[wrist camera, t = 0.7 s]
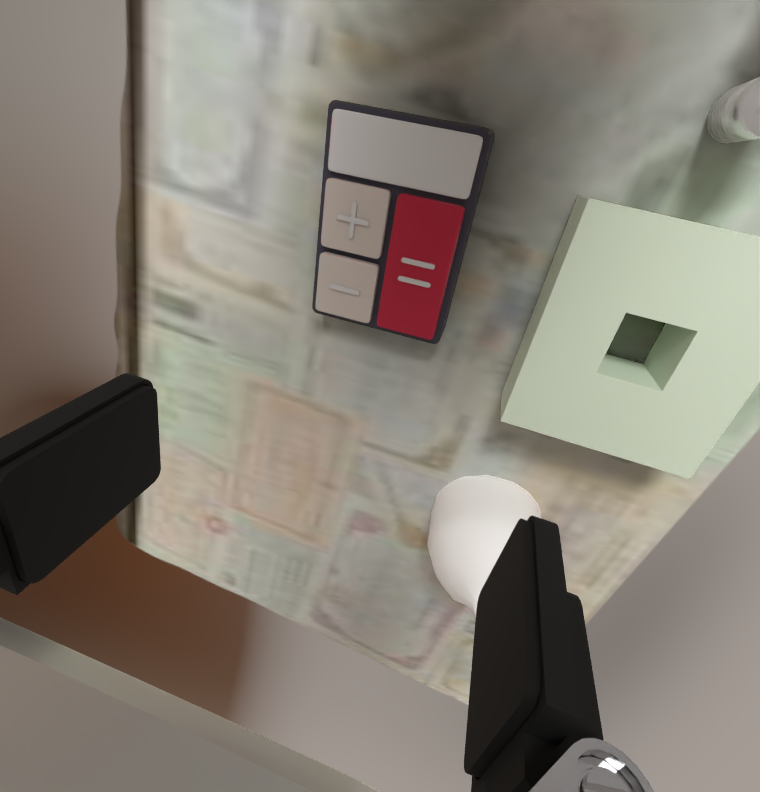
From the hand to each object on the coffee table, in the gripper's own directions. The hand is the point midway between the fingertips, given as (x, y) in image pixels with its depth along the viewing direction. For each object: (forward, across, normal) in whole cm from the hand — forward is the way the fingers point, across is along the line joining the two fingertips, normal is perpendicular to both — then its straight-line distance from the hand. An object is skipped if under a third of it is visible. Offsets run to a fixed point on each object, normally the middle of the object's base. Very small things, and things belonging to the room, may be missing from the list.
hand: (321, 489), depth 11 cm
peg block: (+28, -14, +1) cm, 31 cm away
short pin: (+28, -14, -13) cm, 34 cm away
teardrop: (+28, -10, +23) cm, 37 cm away
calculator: (+28, +5, -2) cm, 29 cm away
